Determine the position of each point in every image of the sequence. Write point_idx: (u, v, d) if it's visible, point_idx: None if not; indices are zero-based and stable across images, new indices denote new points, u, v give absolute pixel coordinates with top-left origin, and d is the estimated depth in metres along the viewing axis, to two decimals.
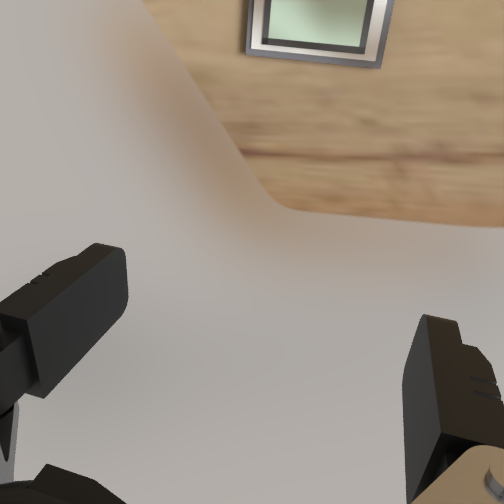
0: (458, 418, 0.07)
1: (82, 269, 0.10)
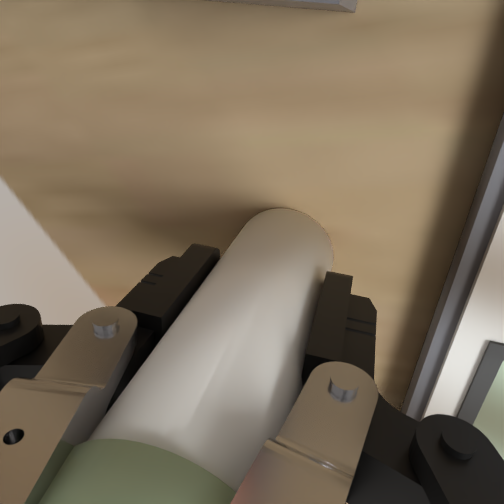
0: (324, 344, 0.09)
1: (192, 269, 0.11)
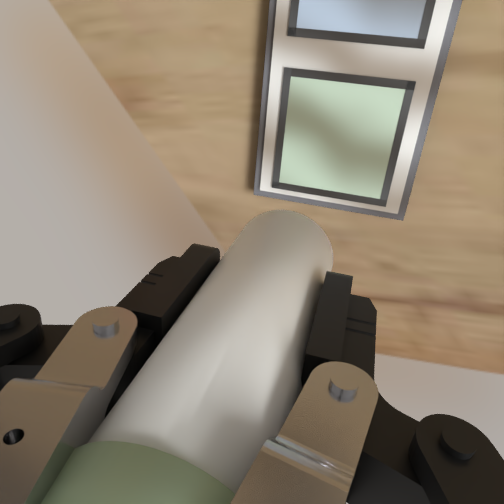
0: (324, 344, 0.09)
1: (192, 269, 0.11)
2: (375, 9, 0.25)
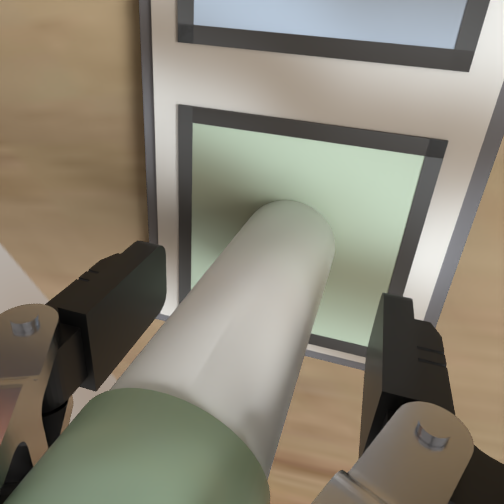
0: (399, 380, 0.08)
1: (130, 266, 0.11)
2: None
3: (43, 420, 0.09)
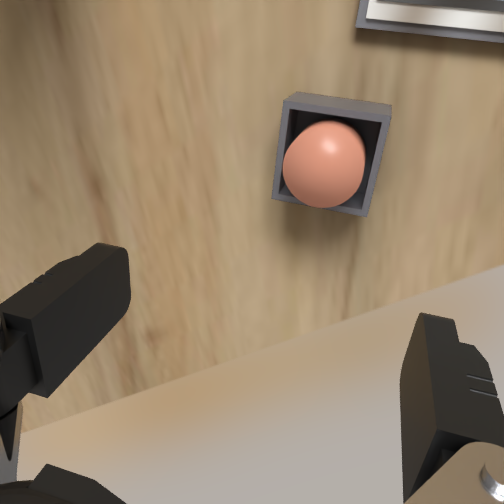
0: (454, 415, 0.07)
1: (85, 269, 0.10)
2: None
3: None
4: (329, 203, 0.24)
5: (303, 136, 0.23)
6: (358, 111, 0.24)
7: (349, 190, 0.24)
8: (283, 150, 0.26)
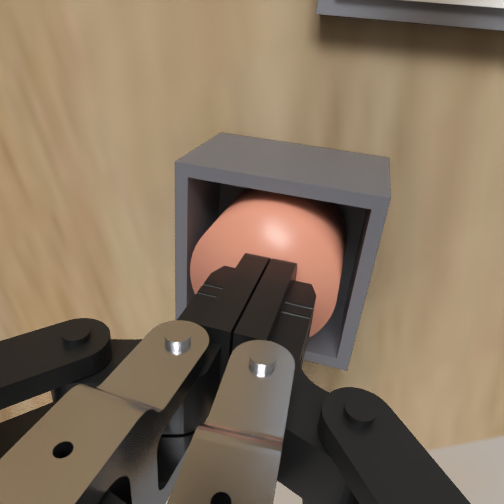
0: (253, 324, 0.09)
1: (250, 280, 0.10)
2: None
3: (169, 441, 0.09)
4: None
5: (222, 226, 0.12)
6: (322, 186, 0.11)
7: (313, 322, 0.13)
8: (186, 250, 0.14)
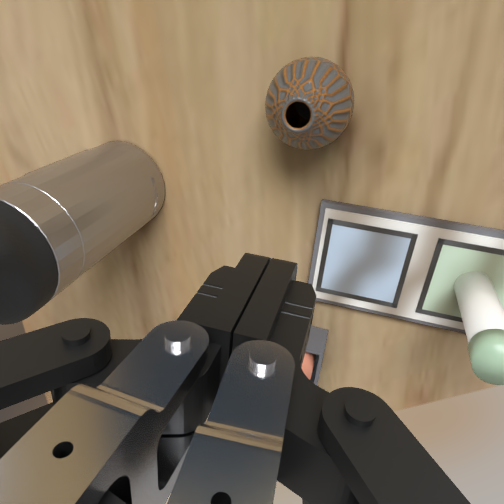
0: (253, 325, 0.09)
1: (250, 280, 0.10)
2: (389, 260, 0.41)
3: (169, 441, 0.09)
4: None
5: None
6: (307, 348, 0.45)
7: None
8: None
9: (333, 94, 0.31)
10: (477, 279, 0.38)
